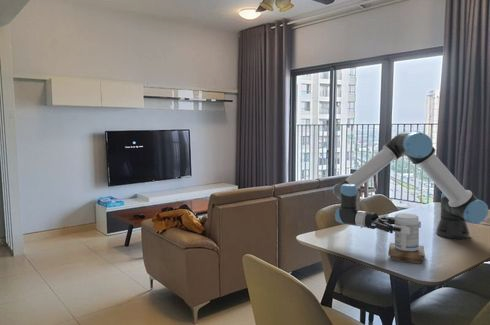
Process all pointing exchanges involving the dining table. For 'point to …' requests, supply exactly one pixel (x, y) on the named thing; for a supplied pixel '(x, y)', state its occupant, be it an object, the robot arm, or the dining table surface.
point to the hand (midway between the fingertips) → (415, 227)
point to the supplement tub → (407, 240)
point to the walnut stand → (406, 254)
